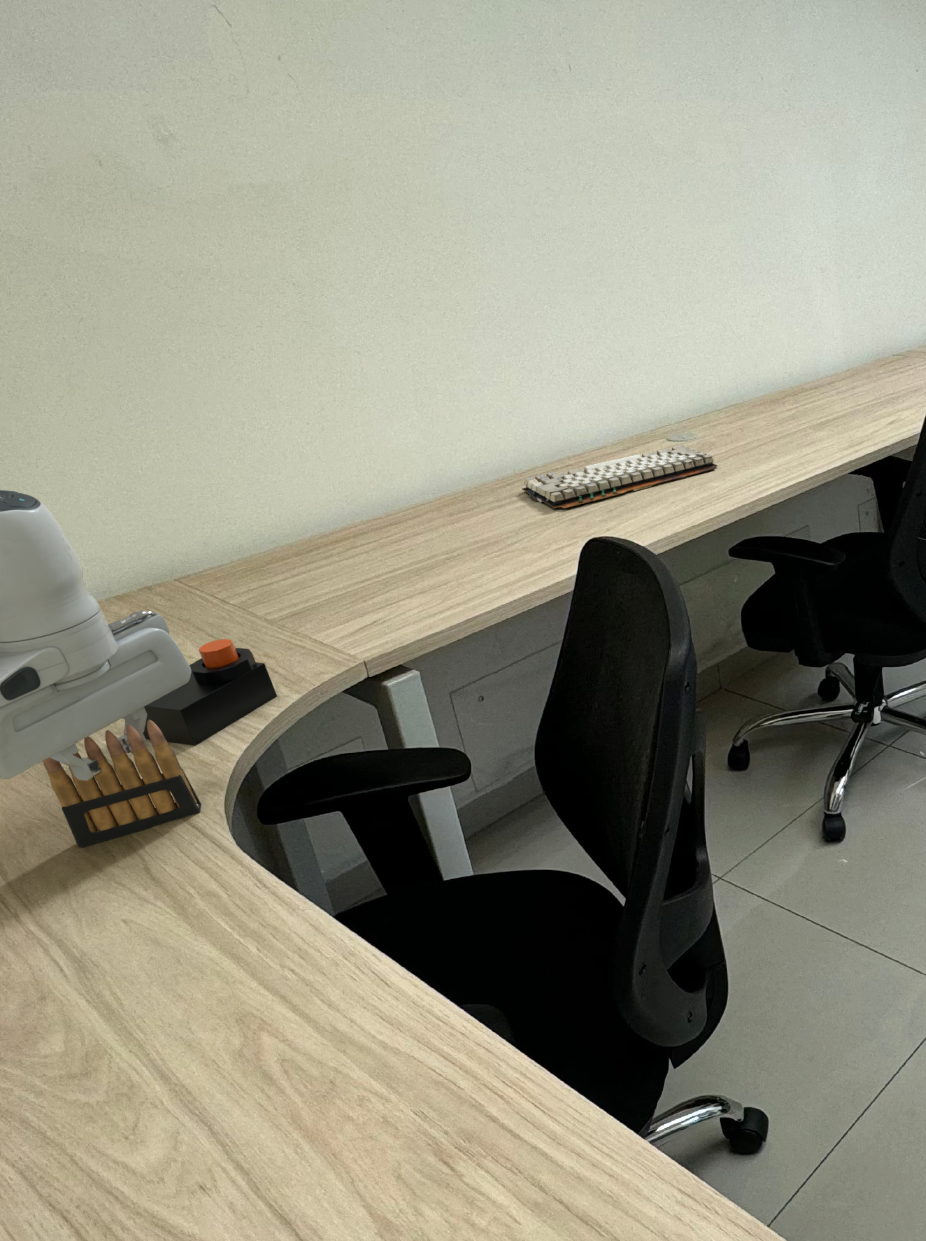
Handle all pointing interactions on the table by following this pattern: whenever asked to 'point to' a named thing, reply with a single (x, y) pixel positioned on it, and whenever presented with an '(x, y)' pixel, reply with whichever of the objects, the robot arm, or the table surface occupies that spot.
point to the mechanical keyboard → (616, 476)
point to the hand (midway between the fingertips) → (113, 762)
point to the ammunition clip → (124, 789)
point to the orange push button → (218, 653)
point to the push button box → (211, 699)
